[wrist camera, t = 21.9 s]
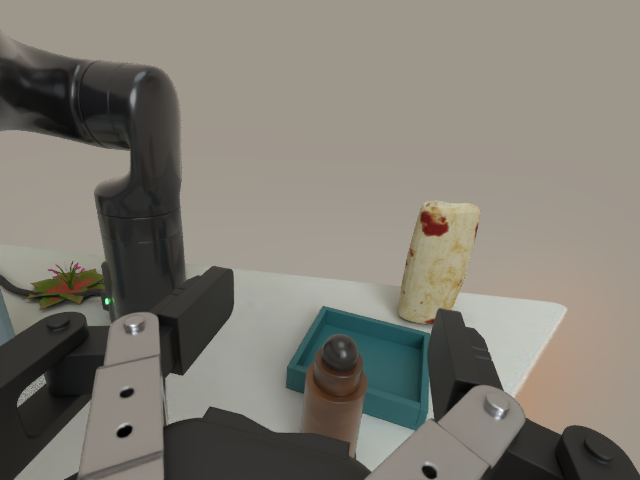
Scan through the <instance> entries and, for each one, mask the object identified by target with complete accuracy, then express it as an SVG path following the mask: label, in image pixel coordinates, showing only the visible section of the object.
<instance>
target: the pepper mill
mask: <svg viewBox="0 0 640 480" xmlns="http://www.w3.org/2000/svg"><path fill="white" fill-rule="evenodd" d="M366 390H367V377H366V375H365V373H364V371H363V358H362V356H361V355H360V353H359V351H358V347H357V345H356V343H355V341H354V340H353V339H352V338H351V337H349V336H347V335H345V334H335V335H332V336H331V337H329V338H328V339H327V340H326V341H325V343H324V345H323V346H322V347H321V348H320V349H319V350H318V351H317V352H316V355H315V361H314V362H313V363H312V364H311V365H310V366H309V368H308V370H307V372H306V380H305V391H304V402H303V413H302V424H301V433H315V434H319V435H323V436H327V437H331V438H335V439H338V440H342V441H346V442H350V449H349V456H351V457H352V458H354V459H356V452H355V450H356V444H357V439H358V433H359V428H360V423H361V417H362V412H363V406H364V401H365V396H366Z"/></svg>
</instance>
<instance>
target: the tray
mask: <svg viewBox="0 0 640 480" xmlns="http://www.w3.org/2000/svg"><path fill="white" fill-rule="evenodd" d="M335 334H345V335H347V336H349V337H351V338H352V339H353V340H354V341H355V343H356V345H357V347H358V351H359V353H360V355H361V356H362V358H363V371H364V373H365V375H366V377H367V390H366V396H365V401H364V406H363V412H362V413H365V414H368V415H371V416H374V417H377V418H380V419H383V420H386V421H389V422H392V423H395V424H398V425H401V426H404V427H408V428H411V429H414V430H417V429H418V428H419V427H420V426H421V425H422V424H423V423H425V420H426V416H427V413H428V393H429V370H428V362H427V350H428V344H429V339H430V333H426V332H425V333H424V332H423V331H419V330H415V329H411V328H407V327H403V326H399V325H395V324H391V323H388V322H384V321H380V320H376V319H372V318H368V317H364V316H360V315H356V314H353V313H349V312H345V311H341V310H337V309H333V308H329V307H325V306H323V307H322V309H321V310H320V312H319V314H318V316H317V317H316V319H315V321H314V322H313V324H312V326H311V328H310V329H309V331H308V333H307V334H306V336H305V338H304V339H303V341H302V343H301V345H300V346H299V348H298V350H297V351H296V353H295V355H294V357H293V358H292V360H291V362H290V363H289V365H288V367H287V381H286V387H287V388H290V389H293V390H296V391H299V392H302V393H304V391H305V380H306V372H307V370H308V368H309V366H310V365H311V364H312V363H313V362H314V361H315V355H316V352H317V351H318V350H319V349H320V348H321V347H322V346H323V345H324V343H325V341H326V340H327V339H328V338H329V337H331V336H332V335H335Z"/></svg>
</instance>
